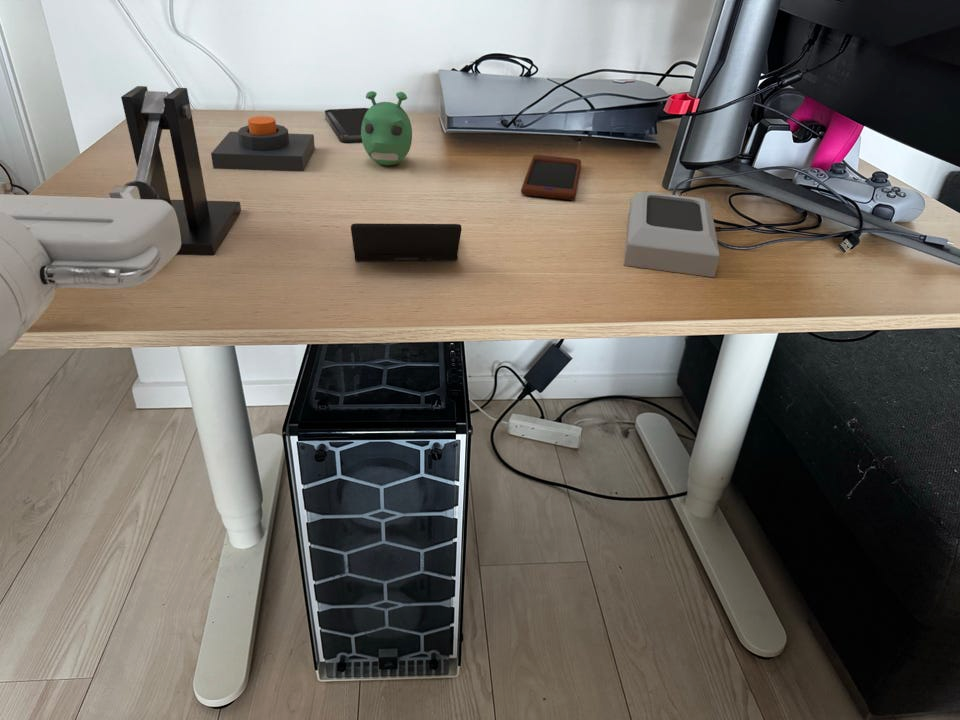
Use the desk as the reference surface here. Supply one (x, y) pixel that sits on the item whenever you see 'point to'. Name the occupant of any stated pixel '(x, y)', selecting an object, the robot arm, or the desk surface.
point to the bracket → (182, 174)
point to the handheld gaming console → (406, 242)
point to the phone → (346, 123)
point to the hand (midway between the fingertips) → (67, 192)
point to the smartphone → (552, 177)
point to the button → (262, 125)
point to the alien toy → (386, 131)
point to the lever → (150, 142)
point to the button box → (264, 151)
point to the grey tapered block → (671, 234)
